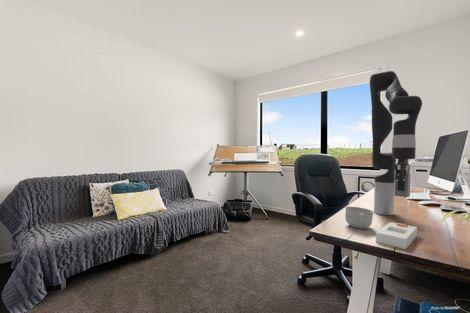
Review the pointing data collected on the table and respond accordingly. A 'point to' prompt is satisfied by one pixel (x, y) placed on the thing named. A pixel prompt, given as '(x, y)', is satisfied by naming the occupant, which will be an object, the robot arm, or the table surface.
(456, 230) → the table surface
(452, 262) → the table surface
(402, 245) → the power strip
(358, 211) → the teacup
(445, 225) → the table surface
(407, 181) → the charger
